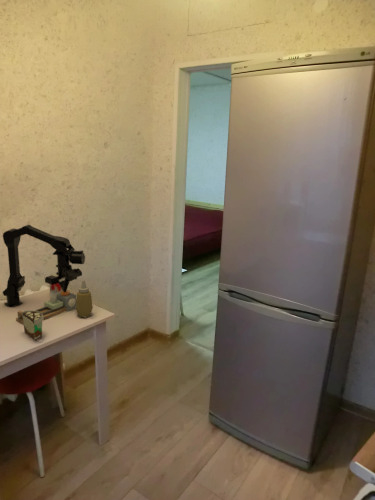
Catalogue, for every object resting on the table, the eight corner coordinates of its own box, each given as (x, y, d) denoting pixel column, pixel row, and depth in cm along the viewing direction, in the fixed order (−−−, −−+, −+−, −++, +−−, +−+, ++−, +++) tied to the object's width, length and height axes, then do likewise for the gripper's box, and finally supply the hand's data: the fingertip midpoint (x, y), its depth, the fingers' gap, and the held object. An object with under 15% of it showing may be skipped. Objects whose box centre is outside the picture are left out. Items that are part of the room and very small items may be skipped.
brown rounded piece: (58, 299, 179) (58, 292, 178) (65, 297, 183) (65, 289, 181) (64, 301, 177) (64, 294, 176) (71, 299, 180) (71, 291, 179)
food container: (50, 337, 150) (48, 316, 148) (36, 342, 146) (34, 320, 143) (36, 327, 158) (35, 307, 155) (23, 332, 153) (21, 311, 151)
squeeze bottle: (75, 312, 175) (74, 278, 170) (92, 310, 178) (91, 277, 173) (76, 319, 168) (75, 284, 163) (93, 317, 170) (92, 283, 166)
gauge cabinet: (54, 306, 181) (53, 293, 179) (64, 302, 186) (63, 290, 184) (67, 311, 175) (67, 298, 174) (77, 307, 180) (76, 295, 179)
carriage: (44, 306, 174) (43, 291, 171) (54, 302, 178) (53, 287, 176) (53, 309, 170) (52, 294, 168) (63, 305, 175) (62, 291, 173)
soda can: (58, 297, 192) (58, 277, 188) (47, 296, 193) (46, 275, 190) (65, 293, 198) (65, 273, 195) (54, 291, 200) (53, 271, 196)
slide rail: (16, 321, 163) (15, 312, 162) (55, 306, 181) (55, 298, 180) (27, 326, 158) (27, 317, 157) (67, 310, 176) (66, 302, 175)
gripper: (58, 270, 163) (59, 301, 167) (88, 262, 178) (89, 290, 182) (43, 266, 168) (45, 295, 172) (74, 258, 184) (75, 285, 188)
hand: (64, 291), depth 179 cm, fingers closed, pressing on brown rounded piece
